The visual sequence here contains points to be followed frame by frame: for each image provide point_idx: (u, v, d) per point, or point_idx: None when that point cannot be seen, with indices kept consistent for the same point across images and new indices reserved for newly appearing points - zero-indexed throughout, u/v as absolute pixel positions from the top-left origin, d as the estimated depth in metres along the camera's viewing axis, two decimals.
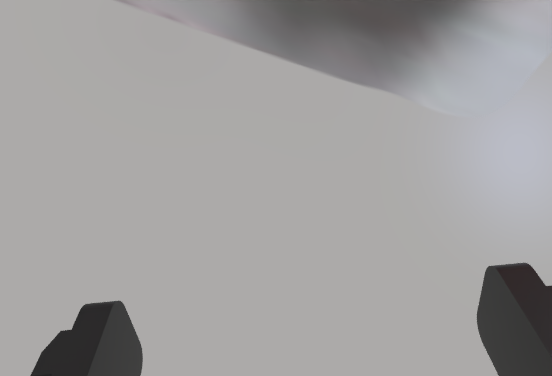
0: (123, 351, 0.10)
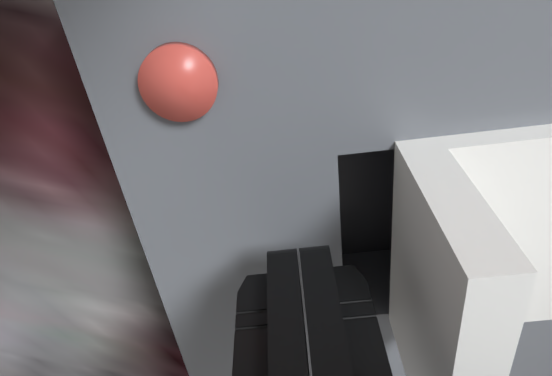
0: (301, 295, 0.10)
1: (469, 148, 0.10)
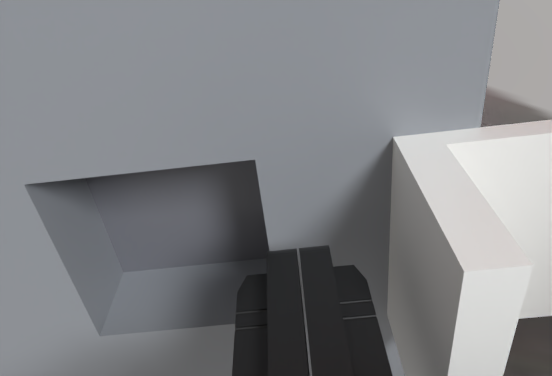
0: (301, 295, 0.10)
1: (467, 143, 0.10)
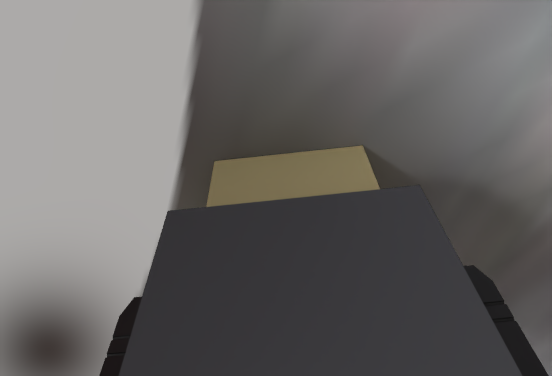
0: None
1: None
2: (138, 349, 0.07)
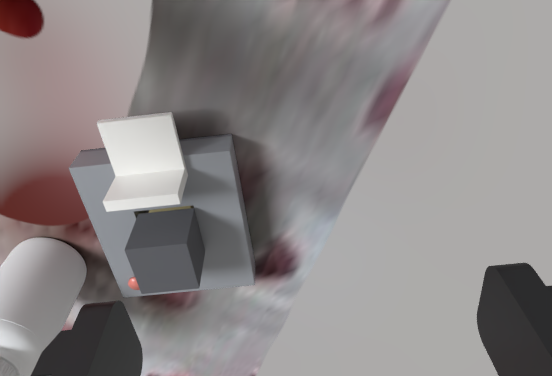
0: (123, 351, 0.10)
1: (114, 171, 0.38)
2: (131, 237, 0.39)
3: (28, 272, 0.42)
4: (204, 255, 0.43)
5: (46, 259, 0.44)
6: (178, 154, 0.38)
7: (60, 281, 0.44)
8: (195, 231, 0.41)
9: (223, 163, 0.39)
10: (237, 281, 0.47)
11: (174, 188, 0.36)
